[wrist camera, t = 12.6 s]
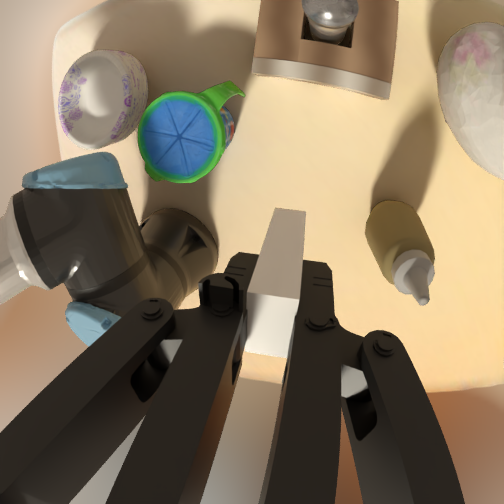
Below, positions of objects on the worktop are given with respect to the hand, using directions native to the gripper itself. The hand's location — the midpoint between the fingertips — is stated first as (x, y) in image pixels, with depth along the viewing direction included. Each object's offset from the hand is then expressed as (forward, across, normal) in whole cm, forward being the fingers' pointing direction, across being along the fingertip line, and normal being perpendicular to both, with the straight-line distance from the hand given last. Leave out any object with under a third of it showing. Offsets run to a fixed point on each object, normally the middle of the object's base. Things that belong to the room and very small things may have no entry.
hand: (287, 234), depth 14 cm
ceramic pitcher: (+24, -24, -15) cm, 37 cm away
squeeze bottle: (+24, -14, +7) cm, 29 cm away
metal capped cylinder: (+24, -2, -18) cm, 30 cm away
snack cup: (+25, +13, -3) cm, 28 cm away
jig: (+24, -2, -18) cm, 30 cm away
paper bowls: (+25, +28, -9) cm, 39 cm away
